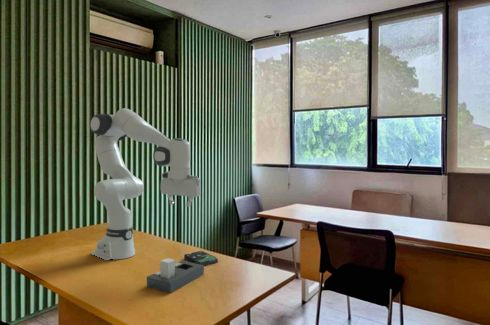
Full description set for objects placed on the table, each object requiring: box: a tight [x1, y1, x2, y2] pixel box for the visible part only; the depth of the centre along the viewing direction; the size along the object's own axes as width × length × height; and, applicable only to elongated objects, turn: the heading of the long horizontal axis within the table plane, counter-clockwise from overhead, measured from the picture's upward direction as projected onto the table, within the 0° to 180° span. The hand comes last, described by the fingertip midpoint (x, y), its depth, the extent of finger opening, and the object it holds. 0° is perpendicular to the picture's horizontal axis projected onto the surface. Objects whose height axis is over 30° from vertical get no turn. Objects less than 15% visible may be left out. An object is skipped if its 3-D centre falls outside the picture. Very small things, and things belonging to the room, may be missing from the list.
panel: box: [146, 260, 205, 294], centre depth 143 cm, size 12×22×4 cm, turn 152°
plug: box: [159, 258, 176, 279], centre depth 138 cm, size 4×5×10 cm
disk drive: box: [184, 250, 219, 267], centre depth 167 cm, size 10×3×15 cm
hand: (180, 205), depth 154 cm, fingers open, 8 cm apart
